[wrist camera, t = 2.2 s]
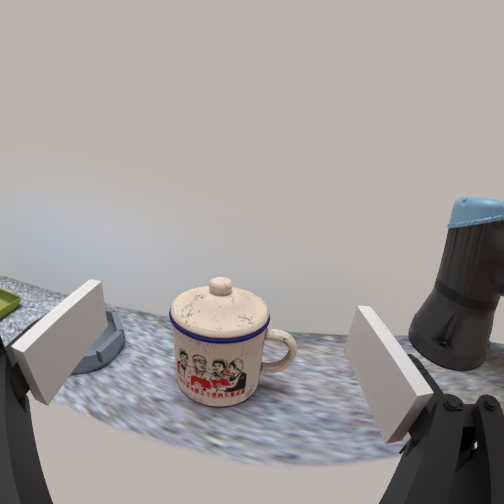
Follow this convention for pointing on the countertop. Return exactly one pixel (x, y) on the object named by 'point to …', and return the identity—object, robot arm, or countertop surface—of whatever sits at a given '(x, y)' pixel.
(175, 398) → the countertop surface
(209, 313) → the teacup with lid
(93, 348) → the ashtray
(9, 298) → the green shallow square dish
